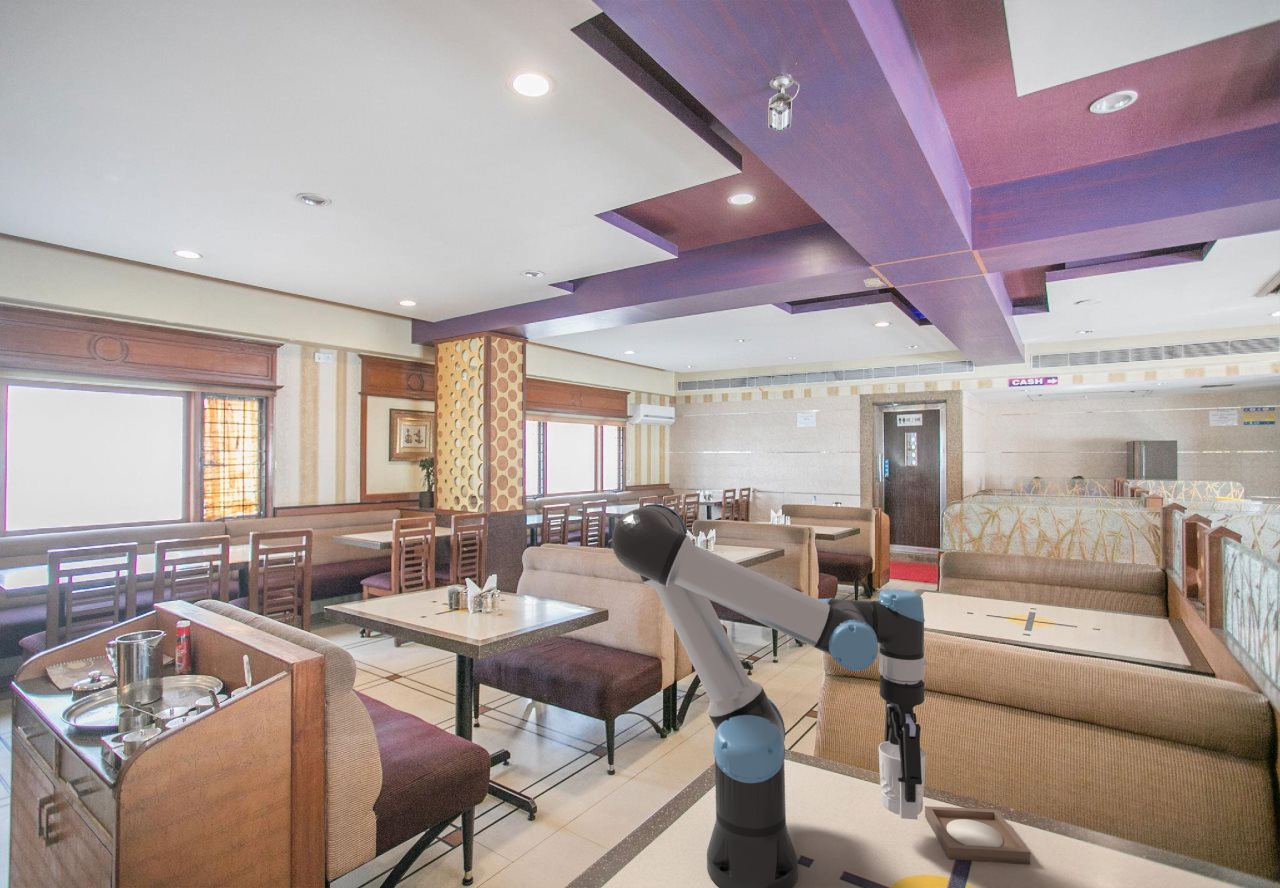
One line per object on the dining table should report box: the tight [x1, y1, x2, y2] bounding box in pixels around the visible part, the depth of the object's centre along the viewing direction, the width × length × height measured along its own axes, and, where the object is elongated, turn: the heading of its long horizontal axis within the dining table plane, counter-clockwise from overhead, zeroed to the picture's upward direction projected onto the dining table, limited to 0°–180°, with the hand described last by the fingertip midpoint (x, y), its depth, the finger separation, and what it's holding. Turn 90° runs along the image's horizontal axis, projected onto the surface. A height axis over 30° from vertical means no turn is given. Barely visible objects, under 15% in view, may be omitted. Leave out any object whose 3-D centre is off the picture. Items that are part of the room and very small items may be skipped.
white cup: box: [878, 741, 927, 816], centre depth 114 cm, size 8×8×10 cm
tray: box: [924, 805, 1031, 865], centre depth 114 cm, size 13×13×2 cm
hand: (902, 804), depth 114 cm, fingers closed on white cup, 8 cm apart
